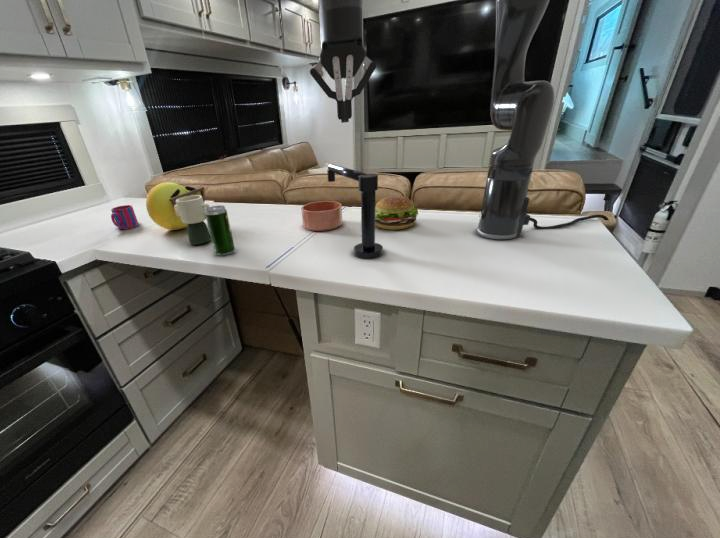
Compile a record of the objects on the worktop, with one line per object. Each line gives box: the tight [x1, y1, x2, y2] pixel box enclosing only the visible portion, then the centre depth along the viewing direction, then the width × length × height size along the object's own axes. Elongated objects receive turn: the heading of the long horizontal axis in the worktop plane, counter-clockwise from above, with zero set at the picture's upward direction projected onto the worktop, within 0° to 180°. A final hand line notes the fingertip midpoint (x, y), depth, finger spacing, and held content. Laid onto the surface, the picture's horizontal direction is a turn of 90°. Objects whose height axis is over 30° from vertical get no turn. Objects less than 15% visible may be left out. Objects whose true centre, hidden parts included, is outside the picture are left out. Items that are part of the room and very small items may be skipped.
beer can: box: [205, 204, 236, 257], centre depth 86 cm, size 5×5×12 cm
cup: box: [110, 204, 140, 230], centre depth 116 cm, size 7×10×7 cm
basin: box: [300, 200, 343, 232], centre depth 101 cm, size 12×12×6 cm
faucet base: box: [353, 191, 384, 260], centre depth 77 cm, size 7×7×15 cm
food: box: [375, 195, 419, 231], centre depth 97 cm, size 14×14×8 cm
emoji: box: [145, 181, 206, 231], centre depth 108 cm, size 16×16×15 cm
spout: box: [326, 163, 379, 192], centre depth 81 cm, size 24×4×4 cm, turn 21°
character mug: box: [174, 195, 212, 245], centre depth 94 cm, size 11×7×13 cm, turn 79°
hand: (345, 122), depth 66 cm, fingers closed
